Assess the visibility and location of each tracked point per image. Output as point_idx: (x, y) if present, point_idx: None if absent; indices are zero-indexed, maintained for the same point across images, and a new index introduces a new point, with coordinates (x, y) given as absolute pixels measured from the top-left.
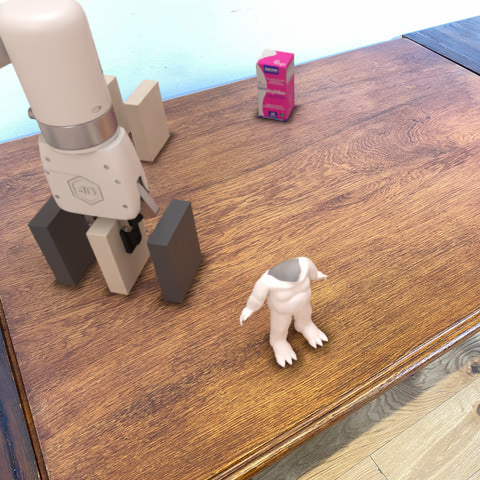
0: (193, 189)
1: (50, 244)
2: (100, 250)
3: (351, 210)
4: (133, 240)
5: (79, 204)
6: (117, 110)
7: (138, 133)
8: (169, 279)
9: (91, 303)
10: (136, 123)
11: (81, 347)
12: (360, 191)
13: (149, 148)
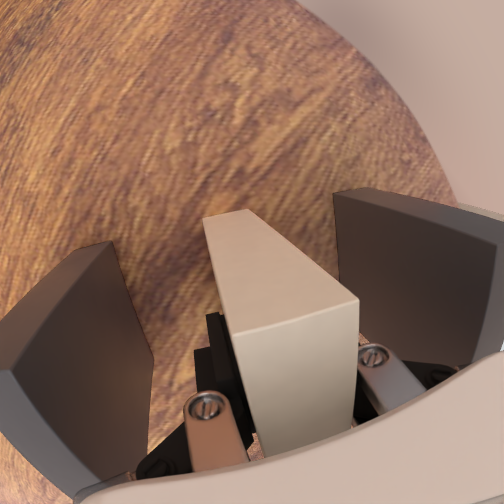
0: (253, 459)
1: (442, 218)
2: (269, 264)
3: (36, 470)
4: (202, 361)
5: (474, 454)
6: None
7: None
8: (53, 279)
9: (269, 162)
10: None
11: (212, 55)
12: (55, 489)
13: None
